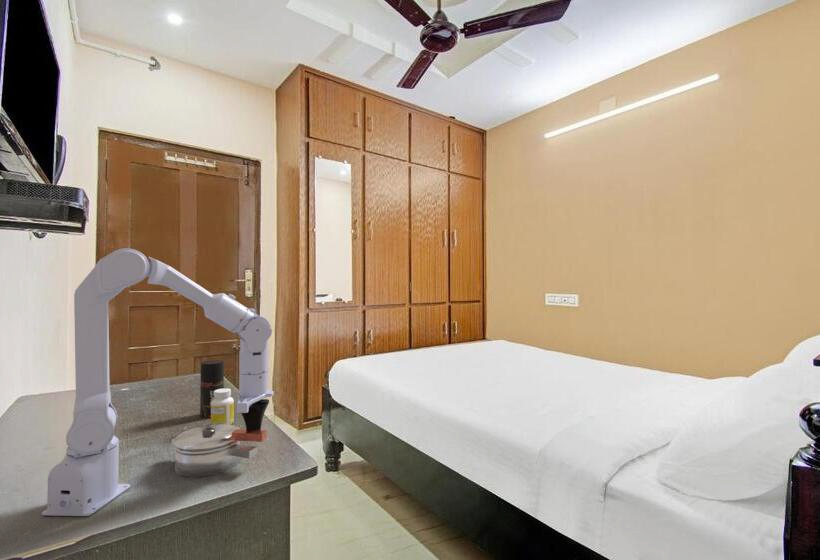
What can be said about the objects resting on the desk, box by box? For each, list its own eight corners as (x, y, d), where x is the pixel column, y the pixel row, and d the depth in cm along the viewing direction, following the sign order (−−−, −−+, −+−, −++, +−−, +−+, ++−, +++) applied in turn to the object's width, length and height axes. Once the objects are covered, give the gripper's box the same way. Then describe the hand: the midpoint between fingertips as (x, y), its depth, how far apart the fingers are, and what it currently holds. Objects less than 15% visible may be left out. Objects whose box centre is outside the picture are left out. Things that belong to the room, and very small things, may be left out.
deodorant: (206, 419, 110) (207, 365, 110) (196, 415, 113) (196, 362, 113) (227, 414, 114) (227, 361, 114) (216, 409, 118) (217, 359, 118)
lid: (159, 449, 78) (159, 440, 78) (198, 426, 90) (198, 418, 90) (250, 453, 76) (250, 444, 76) (276, 429, 89) (276, 421, 89)
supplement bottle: (227, 422, 107) (228, 386, 107) (237, 427, 104) (238, 390, 104) (206, 428, 103) (207, 390, 103) (216, 433, 100) (217, 394, 100)
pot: (149, 471, 80) (149, 446, 80) (199, 446, 92) (199, 424, 92) (230, 486, 74) (231, 459, 74) (272, 457, 86) (272, 434, 86)
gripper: (263, 380, 77) (262, 450, 77) (281, 364, 92) (281, 423, 92) (225, 380, 77) (225, 451, 77) (250, 364, 91) (250, 423, 91)
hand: (253, 435), depth 84 cm, fingers closed, pressing on lid
